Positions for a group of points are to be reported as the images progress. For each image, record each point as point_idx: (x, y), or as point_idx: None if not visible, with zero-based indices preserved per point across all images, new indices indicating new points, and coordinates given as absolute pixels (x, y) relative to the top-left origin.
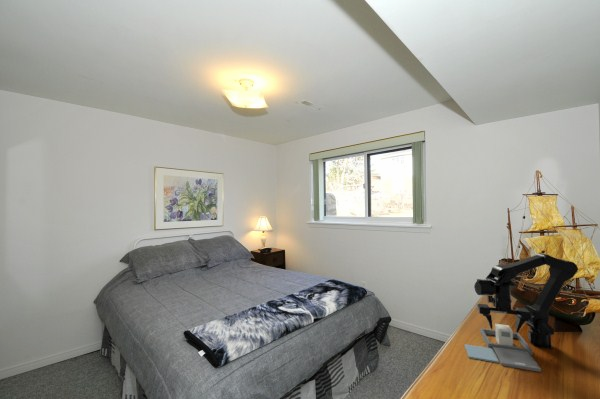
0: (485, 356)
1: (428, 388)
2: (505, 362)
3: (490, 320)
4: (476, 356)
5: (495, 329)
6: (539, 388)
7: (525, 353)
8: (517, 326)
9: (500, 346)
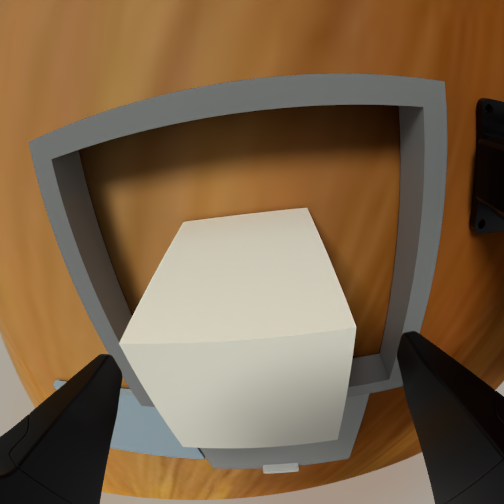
0: (155, 446)
1: (102, 488)
2: (228, 466)
3: (87, 502)
4: (128, 447)
5: (151, 281)
6: (301, 484)
7: (349, 398)
8: (425, 441)
9: None
